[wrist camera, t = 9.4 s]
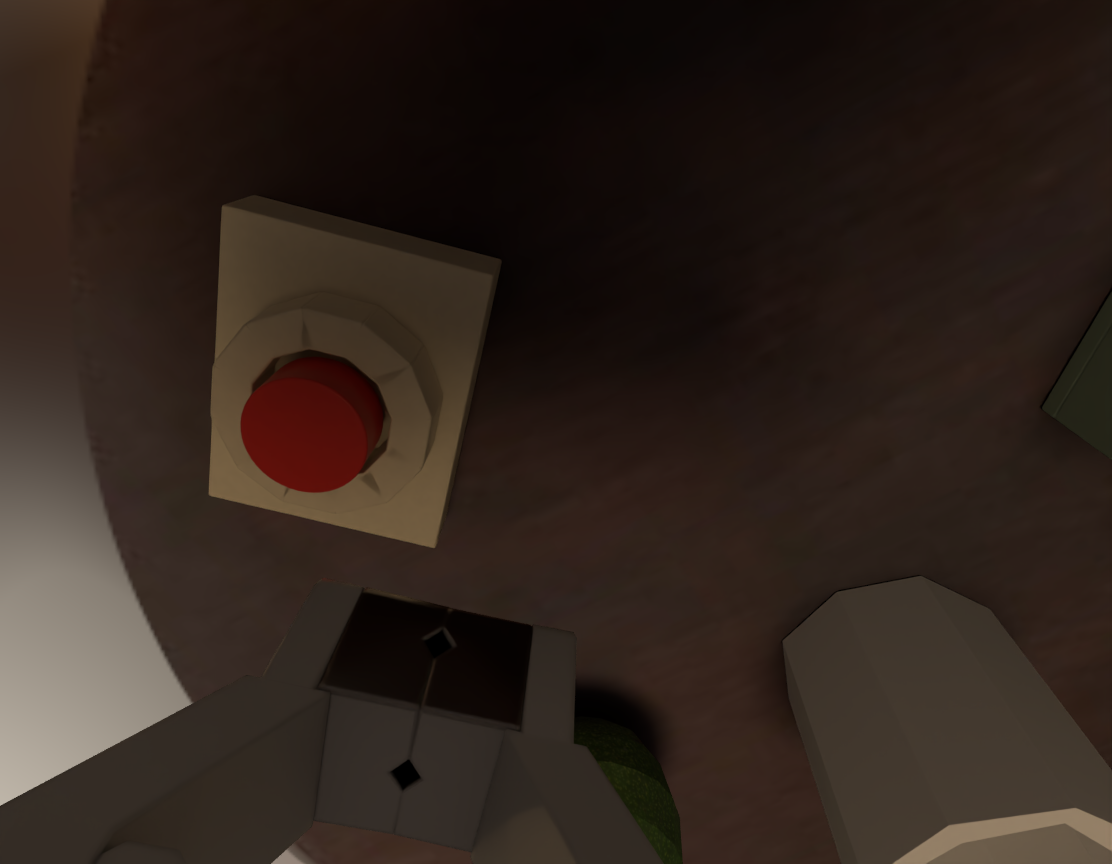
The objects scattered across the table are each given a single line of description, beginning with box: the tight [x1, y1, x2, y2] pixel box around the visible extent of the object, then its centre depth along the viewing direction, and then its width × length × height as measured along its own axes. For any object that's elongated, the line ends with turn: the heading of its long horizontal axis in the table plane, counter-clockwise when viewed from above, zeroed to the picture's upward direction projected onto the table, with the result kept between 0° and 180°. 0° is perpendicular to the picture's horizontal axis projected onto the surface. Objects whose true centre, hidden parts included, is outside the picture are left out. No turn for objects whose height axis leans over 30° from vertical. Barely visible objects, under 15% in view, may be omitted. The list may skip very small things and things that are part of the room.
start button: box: [240, 357, 383, 493], centre depth 21 cm, size 4×4×2 cm
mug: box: [782, 576, 1112, 864], centre depth 26 cm, size 12×9×10 cm
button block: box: [209, 195, 502, 548], centre depth 23 cm, size 10×8×4 cm
